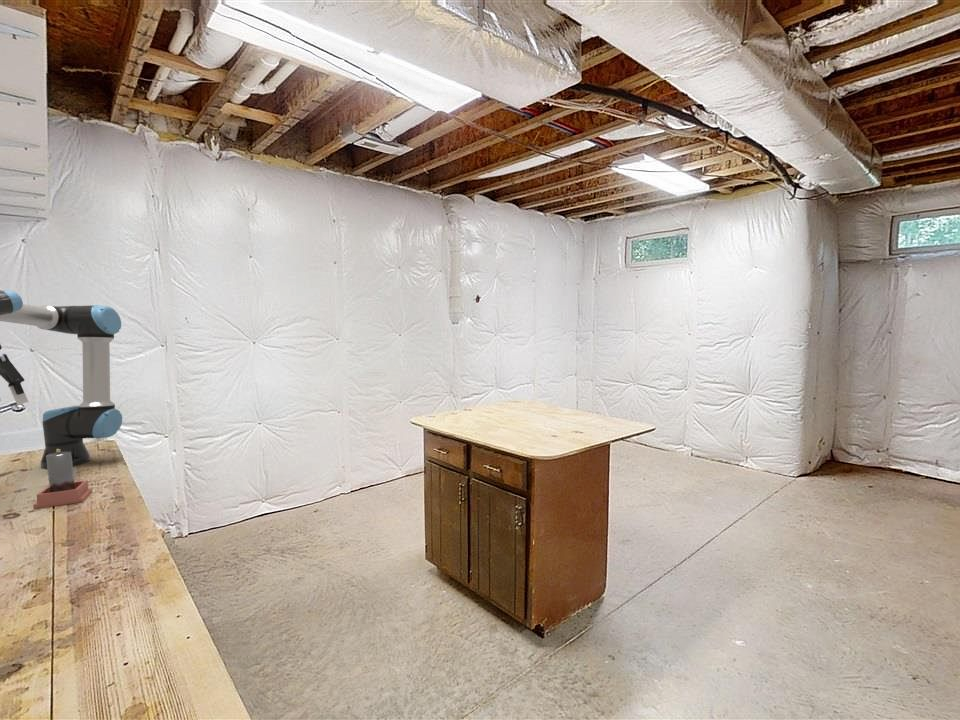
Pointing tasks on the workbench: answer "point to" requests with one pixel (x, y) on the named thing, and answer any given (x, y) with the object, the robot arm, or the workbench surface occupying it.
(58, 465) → the motor housing
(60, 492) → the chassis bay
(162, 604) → the workbench surface
